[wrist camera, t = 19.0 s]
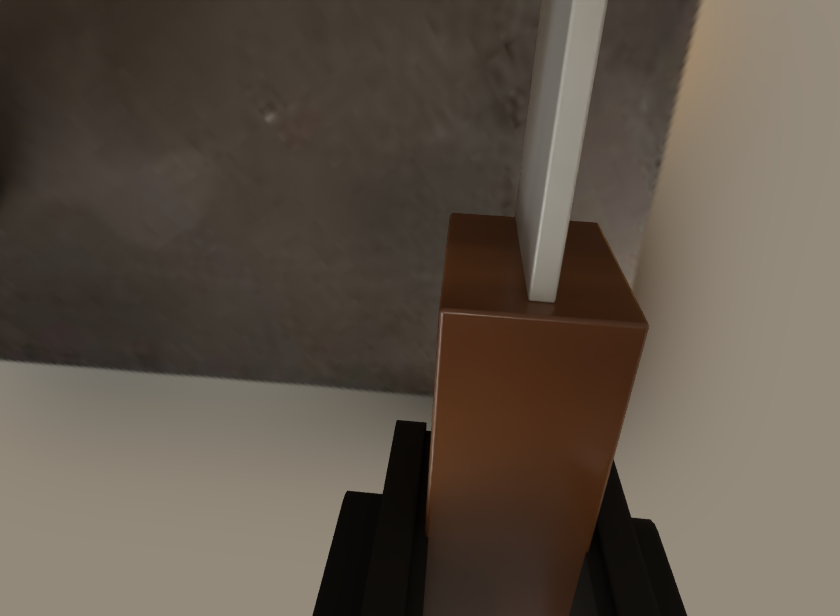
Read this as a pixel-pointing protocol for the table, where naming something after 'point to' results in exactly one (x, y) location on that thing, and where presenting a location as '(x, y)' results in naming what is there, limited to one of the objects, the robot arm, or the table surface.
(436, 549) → the knife
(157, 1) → the table surface
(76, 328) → the table surface
